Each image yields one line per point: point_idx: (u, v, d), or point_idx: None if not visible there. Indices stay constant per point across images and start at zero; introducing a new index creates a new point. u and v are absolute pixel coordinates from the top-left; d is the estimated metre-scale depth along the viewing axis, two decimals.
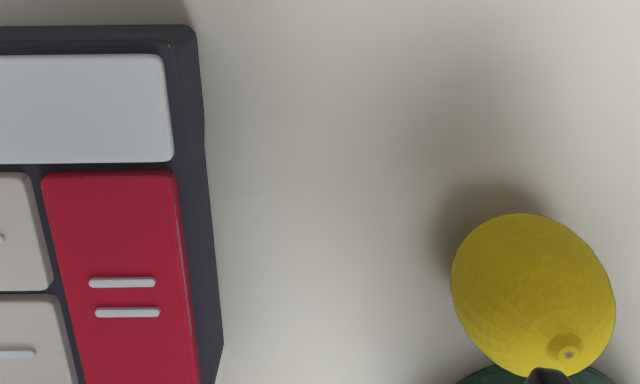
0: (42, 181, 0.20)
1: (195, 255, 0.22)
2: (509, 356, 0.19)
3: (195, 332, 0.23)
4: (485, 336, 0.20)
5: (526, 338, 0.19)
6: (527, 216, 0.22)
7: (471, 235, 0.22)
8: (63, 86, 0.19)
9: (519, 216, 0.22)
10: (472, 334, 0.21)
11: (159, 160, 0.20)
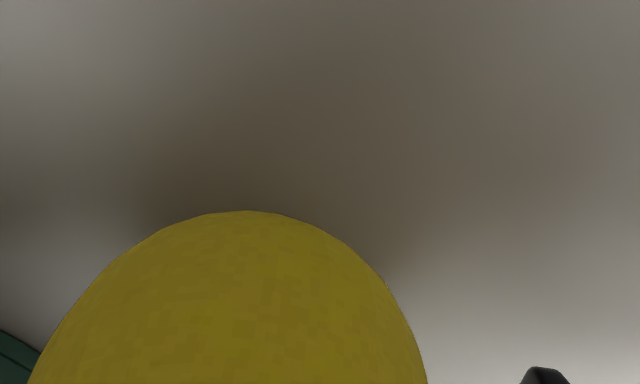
0: None
1: None
2: None
3: None
4: None
5: None
6: (414, 341, 0.08)
7: (301, 242, 0.08)
8: None
9: (406, 325, 0.08)
10: None
11: None
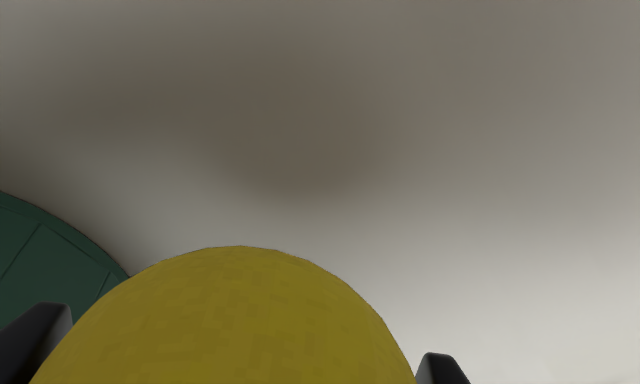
0: None
1: None
2: None
3: None
4: None
5: None
6: None
7: (296, 288, 0.07)
8: None
9: (410, 376, 0.07)
10: None
11: None
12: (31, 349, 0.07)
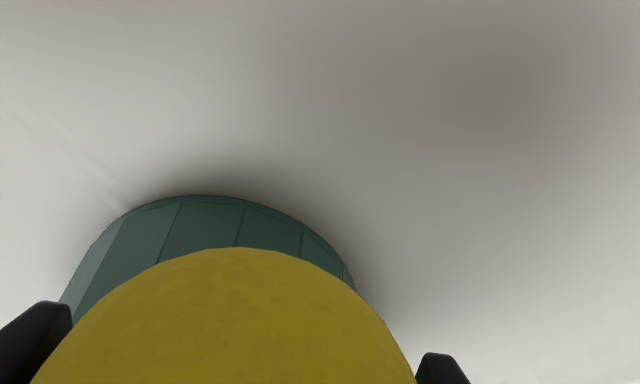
0: None
1: None
2: None
3: None
4: None
5: None
6: None
7: (297, 290, 0.07)
8: None
9: (410, 378, 0.07)
10: None
11: None
12: (31, 349, 0.07)
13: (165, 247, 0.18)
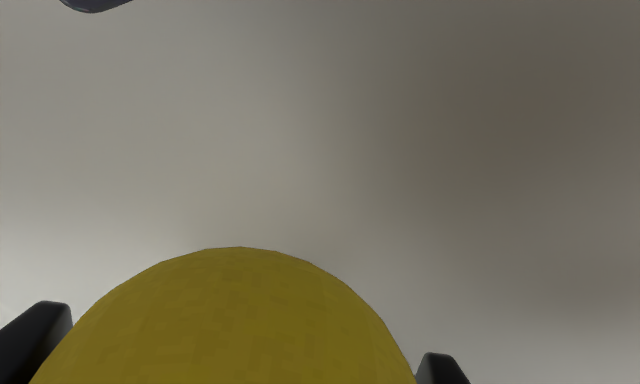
0: None
1: None
2: None
3: None
4: None
5: None
6: None
7: (296, 290, 0.07)
8: None
9: (410, 378, 0.07)
10: None
11: None
12: (31, 349, 0.07)
13: None
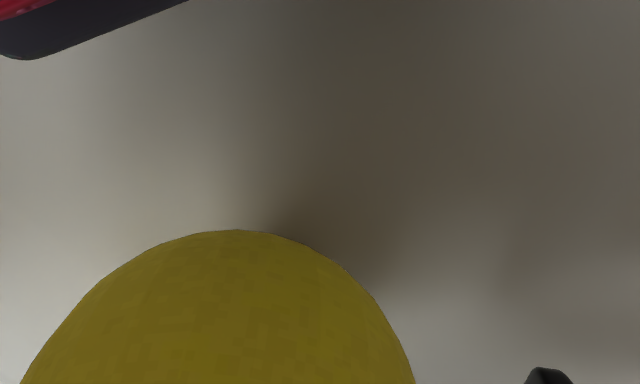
0: None
1: None
2: None
3: None
4: None
5: None
6: (408, 368, 0.08)
7: (291, 266, 0.07)
8: None
9: (400, 351, 0.08)
10: None
11: None
12: None
13: None
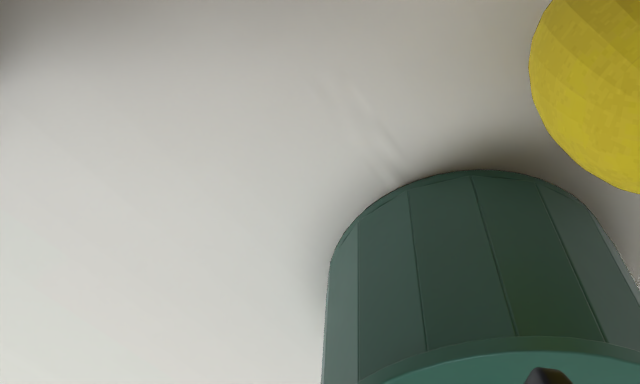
0: None
1: None
2: None
3: None
4: None
5: None
6: None
7: None
8: None
9: None
10: (631, 9, 0.12)
11: None
12: None
13: (485, 218, 0.18)
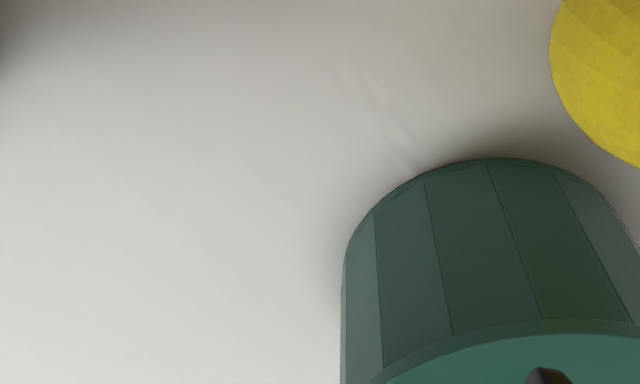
0: None
1: None
2: None
3: None
4: None
5: None
6: None
7: None
8: None
9: None
10: None
11: None
12: None
13: (504, 205, 0.18)
